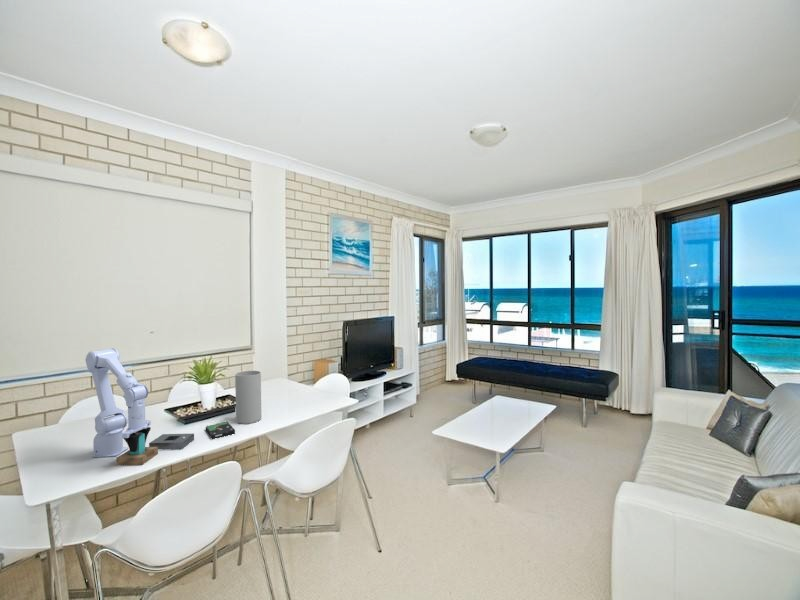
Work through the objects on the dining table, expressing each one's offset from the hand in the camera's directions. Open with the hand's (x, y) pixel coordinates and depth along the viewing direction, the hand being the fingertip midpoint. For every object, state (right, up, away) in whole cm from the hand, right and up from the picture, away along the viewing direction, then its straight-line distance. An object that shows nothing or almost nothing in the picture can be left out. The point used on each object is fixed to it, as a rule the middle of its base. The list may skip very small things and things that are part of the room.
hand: (137, 448), depth 151 cm
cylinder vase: (+27, -3, +45) cm, 53 cm away
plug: (0, -4, 0) cm, 4 cm away
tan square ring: (0, -4, 0) cm, 4 cm away
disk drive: (+20, -4, +29) cm, 35 cm away
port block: (+5, -4, +14) cm, 16 cm away
